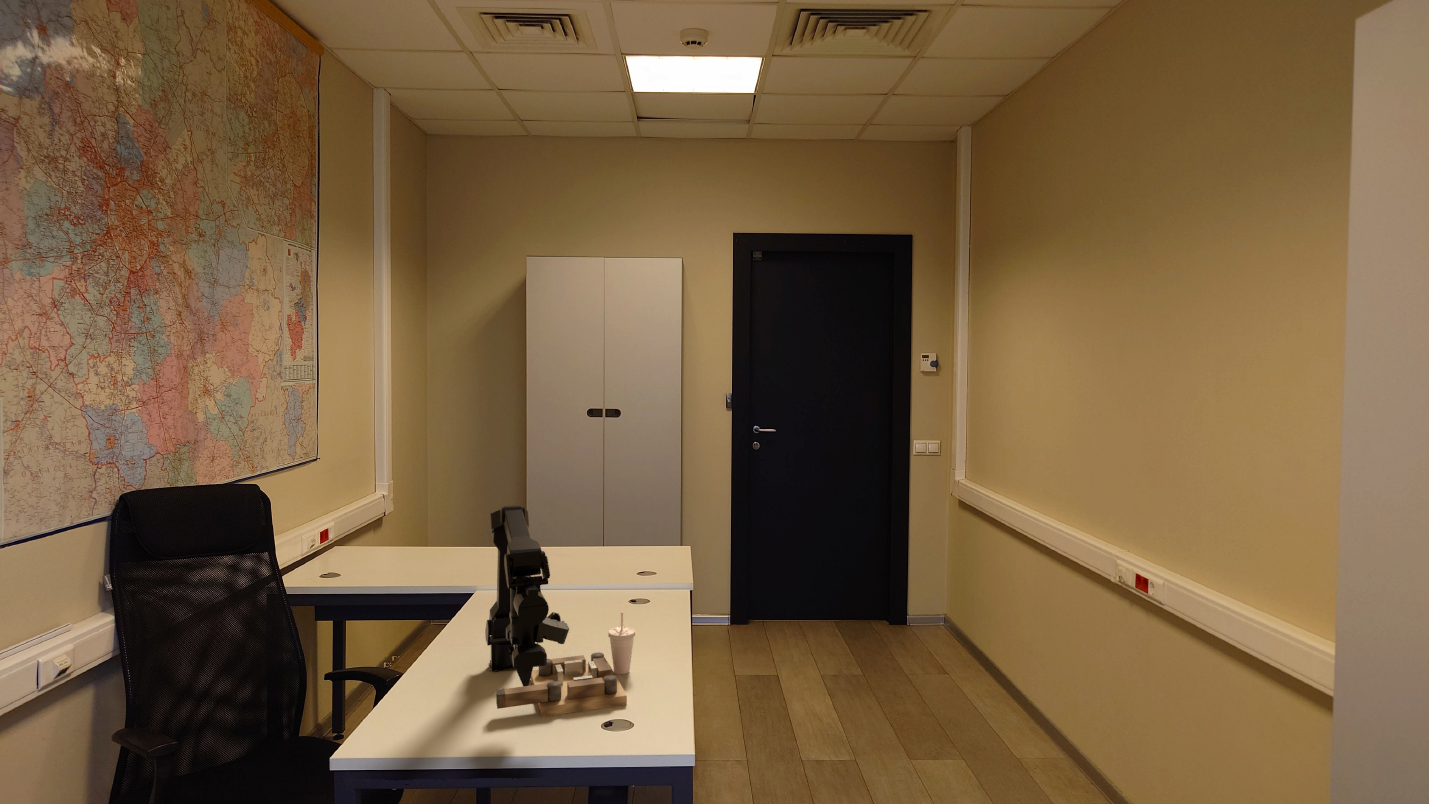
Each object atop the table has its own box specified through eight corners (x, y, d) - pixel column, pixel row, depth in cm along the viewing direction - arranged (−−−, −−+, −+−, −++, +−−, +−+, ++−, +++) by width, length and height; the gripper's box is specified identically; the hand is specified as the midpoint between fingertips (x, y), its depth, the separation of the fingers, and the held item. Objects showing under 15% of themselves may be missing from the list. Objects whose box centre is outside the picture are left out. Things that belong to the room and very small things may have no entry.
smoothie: (636, 665, 190) (636, 608, 189) (634, 676, 183) (634, 617, 183) (609, 665, 190) (609, 608, 189) (606, 676, 183) (606, 617, 182)
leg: (560, 694, 168) (560, 680, 168) (562, 699, 165) (562, 686, 165) (496, 702, 164) (496, 688, 164) (497, 708, 161) (497, 694, 161)
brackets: (561, 695, 168) (561, 681, 168) (554, 675, 178) (554, 662, 178) (601, 689, 171) (601, 676, 171) (591, 670, 181) (591, 658, 181)
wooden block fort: (541, 716, 163) (541, 693, 162) (530, 679, 181) (530, 658, 181) (626, 704, 169) (626, 681, 168) (607, 669, 187) (607, 648, 187)
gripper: (573, 620, 151) (573, 699, 152) (559, 591, 168) (559, 663, 169) (513, 626, 147) (514, 707, 148) (505, 596, 164) (506, 669, 165)
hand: (525, 685), depth 158 cm, fingers closed
